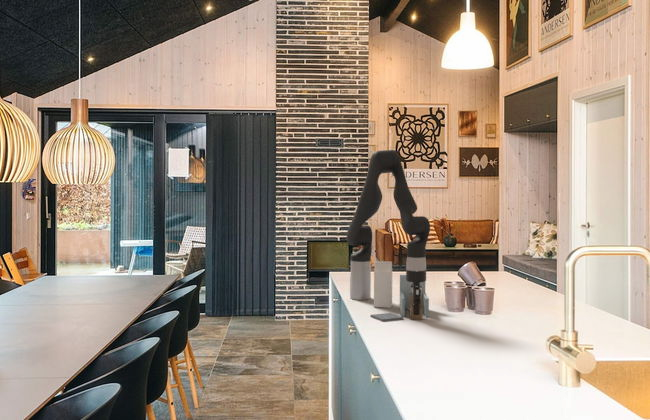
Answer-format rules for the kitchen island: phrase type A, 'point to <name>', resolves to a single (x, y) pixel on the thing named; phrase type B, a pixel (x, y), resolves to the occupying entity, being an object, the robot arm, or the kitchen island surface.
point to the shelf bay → (405, 296)
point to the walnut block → (412, 308)
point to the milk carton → (383, 284)
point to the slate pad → (386, 317)
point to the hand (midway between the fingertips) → (415, 313)
